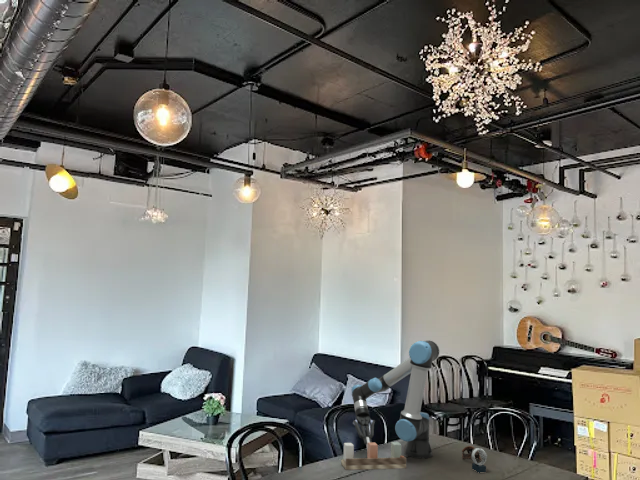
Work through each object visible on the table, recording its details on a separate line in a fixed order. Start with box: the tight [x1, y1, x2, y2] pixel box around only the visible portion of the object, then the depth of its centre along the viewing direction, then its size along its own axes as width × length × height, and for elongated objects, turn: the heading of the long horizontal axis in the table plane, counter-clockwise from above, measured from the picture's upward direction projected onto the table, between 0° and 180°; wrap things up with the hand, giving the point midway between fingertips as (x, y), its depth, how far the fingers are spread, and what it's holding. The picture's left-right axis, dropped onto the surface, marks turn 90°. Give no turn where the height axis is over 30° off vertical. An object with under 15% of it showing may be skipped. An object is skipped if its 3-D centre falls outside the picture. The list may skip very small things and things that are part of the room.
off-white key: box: [343, 442, 355, 462], centre depth 245 cm, size 4×5×8 cm
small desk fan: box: [471, 447, 488, 474], centre depth 243 cm, size 6×8×11 cm
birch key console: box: [340, 454, 407, 471], centre depth 245 cm, size 32×10×6 cm, turn 101°
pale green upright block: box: [390, 441, 402, 458], centre depth 250 cm, size 4×5×8 cm
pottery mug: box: [461, 445, 482, 461], centre depth 262 cm, size 12×10×8 cm
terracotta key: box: [366, 441, 379, 458], centre depth 247 cm, size 4×5×8 cm
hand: (369, 449), depth 252 cm, fingers closed
